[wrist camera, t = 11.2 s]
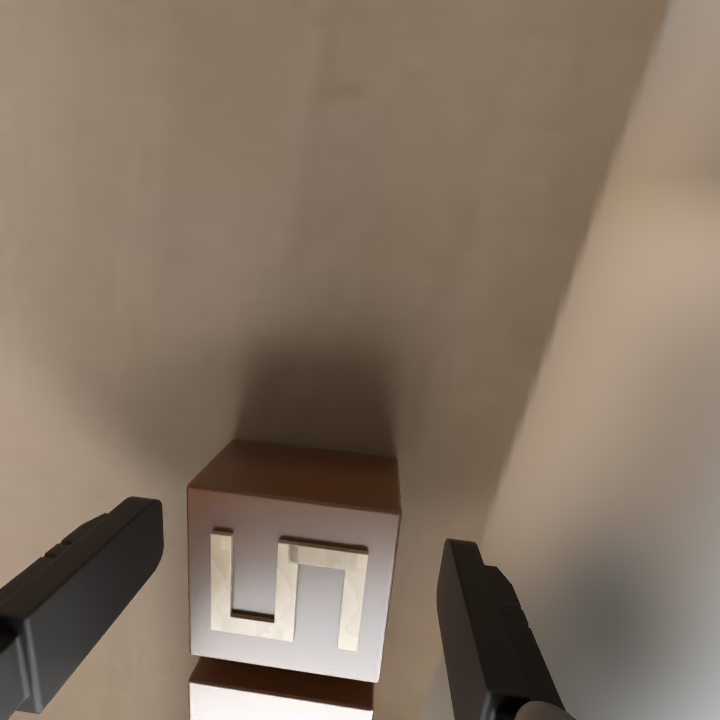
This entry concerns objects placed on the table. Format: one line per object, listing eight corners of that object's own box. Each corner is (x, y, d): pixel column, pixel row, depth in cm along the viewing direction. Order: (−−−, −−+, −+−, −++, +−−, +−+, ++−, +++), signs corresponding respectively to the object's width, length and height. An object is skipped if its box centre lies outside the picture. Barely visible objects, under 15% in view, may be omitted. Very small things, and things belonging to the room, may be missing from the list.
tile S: (232, 438, 10) (182, 487, 8) (398, 458, 10) (402, 516, 8) (230, 577, 11) (186, 660, 9) (380, 598, 11) (379, 690, 9)
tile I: (228, 597, 12) (185, 685, 9) (375, 619, 11) (373, 715, 9) (227, 708, 13) (187, 815, 10) (361, 730, 12) (355, 844, 10)
